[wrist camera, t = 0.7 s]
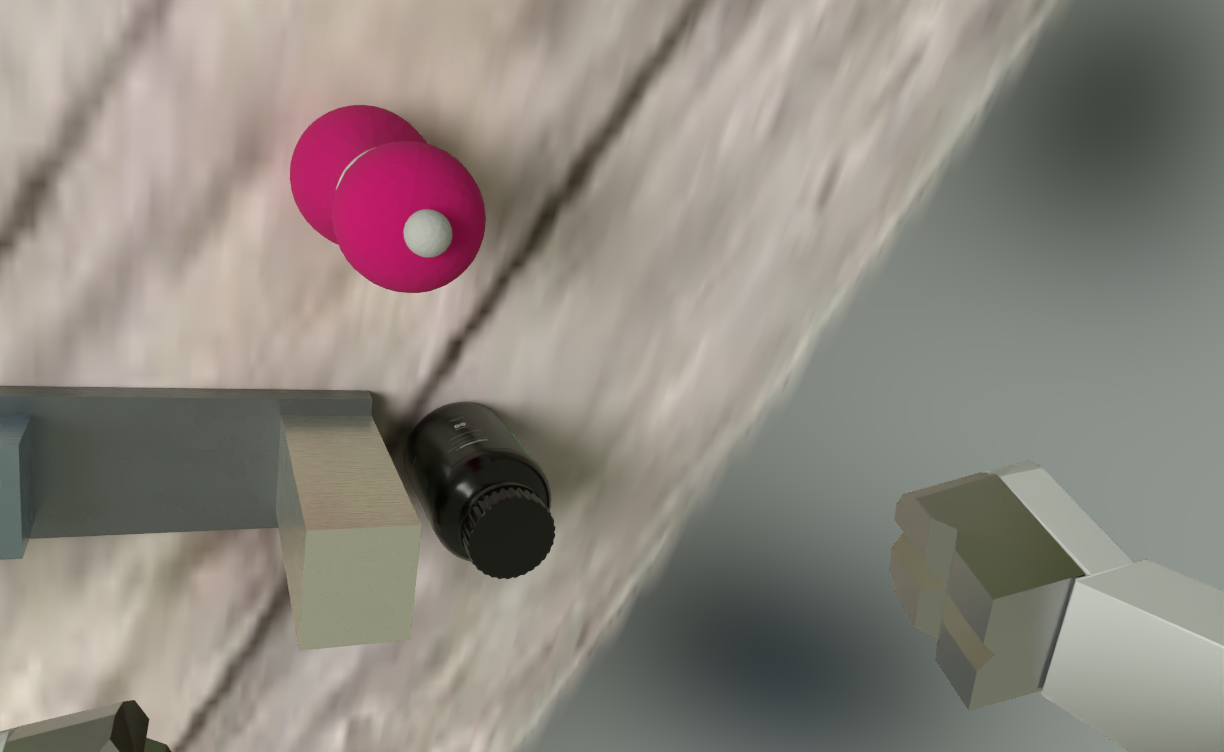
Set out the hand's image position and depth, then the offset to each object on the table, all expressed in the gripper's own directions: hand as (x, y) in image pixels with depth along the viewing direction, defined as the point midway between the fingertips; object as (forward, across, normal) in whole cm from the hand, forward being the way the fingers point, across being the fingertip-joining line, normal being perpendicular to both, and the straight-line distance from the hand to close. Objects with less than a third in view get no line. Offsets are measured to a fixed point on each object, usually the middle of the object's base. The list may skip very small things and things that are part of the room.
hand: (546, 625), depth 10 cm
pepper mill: (+44, +4, +12) cm, 46 cm away
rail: (+38, +18, +24) cm, 49 cm away
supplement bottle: (+40, +2, +30) cm, 50 cm away
